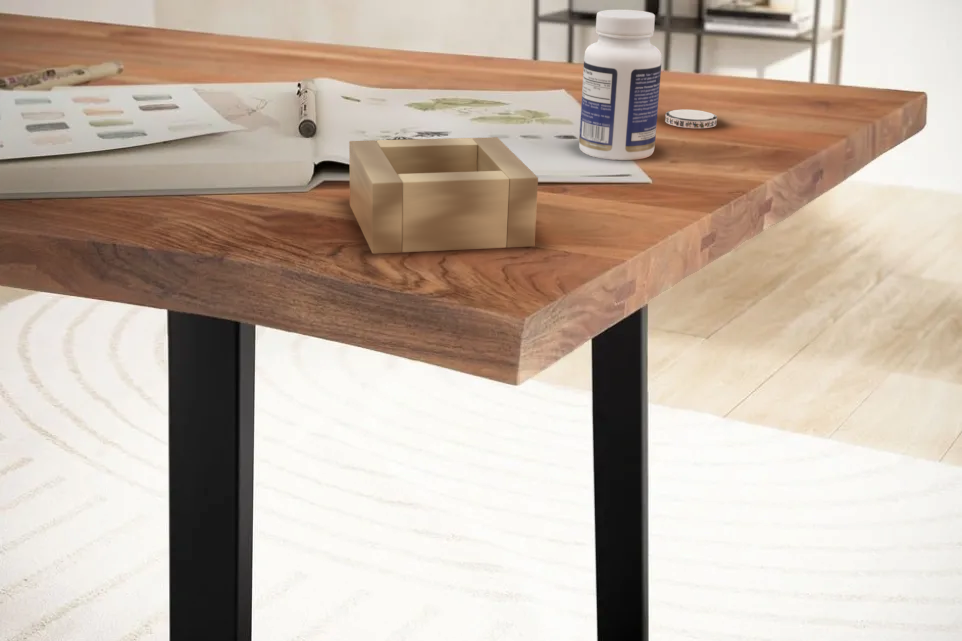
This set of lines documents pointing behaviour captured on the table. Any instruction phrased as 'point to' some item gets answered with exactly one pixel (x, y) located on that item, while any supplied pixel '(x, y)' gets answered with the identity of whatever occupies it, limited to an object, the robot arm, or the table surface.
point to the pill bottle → (620, 87)
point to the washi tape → (691, 119)
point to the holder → (441, 194)
